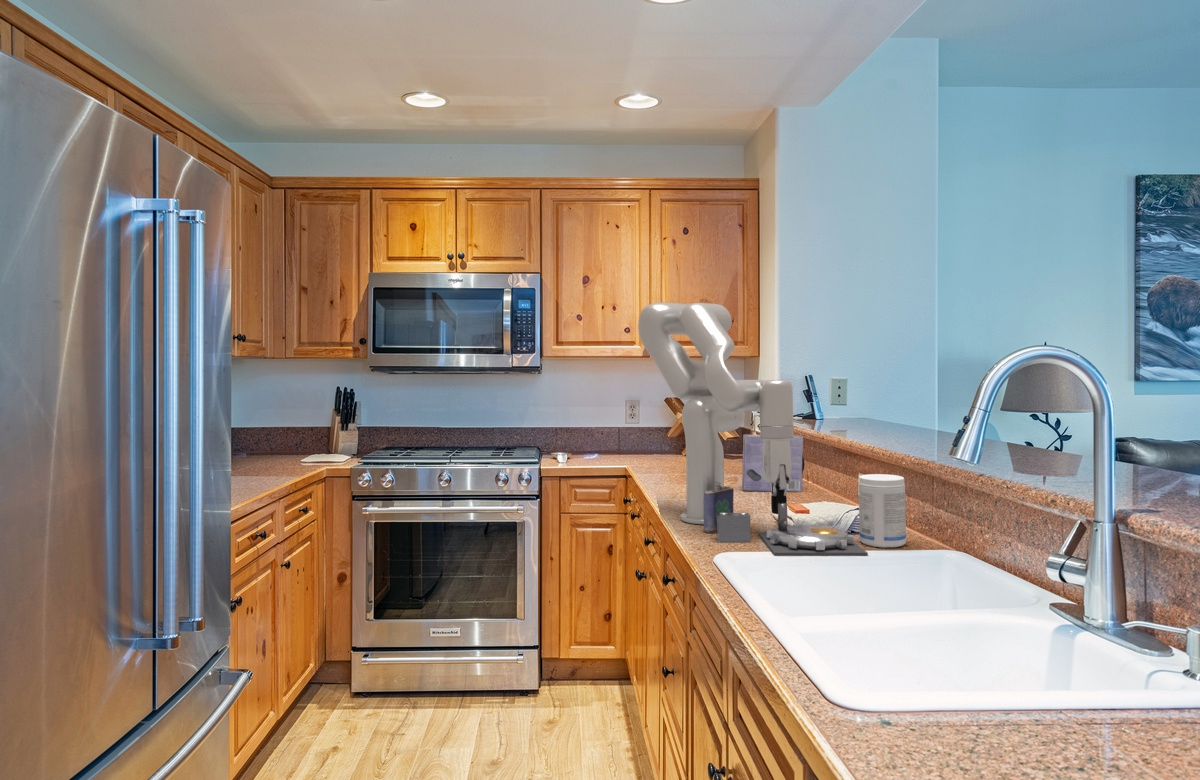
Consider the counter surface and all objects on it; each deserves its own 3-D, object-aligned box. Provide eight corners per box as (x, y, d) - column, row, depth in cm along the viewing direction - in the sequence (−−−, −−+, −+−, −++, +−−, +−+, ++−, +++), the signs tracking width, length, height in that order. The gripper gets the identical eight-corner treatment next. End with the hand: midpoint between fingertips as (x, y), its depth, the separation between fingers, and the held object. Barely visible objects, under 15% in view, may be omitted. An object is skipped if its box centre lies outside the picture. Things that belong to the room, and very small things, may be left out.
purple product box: (803, 489, 232) (803, 433, 231) (806, 492, 227) (806, 435, 226) (741, 489, 234) (741, 433, 233) (743, 491, 229) (743, 435, 228)
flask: (710, 533, 172) (710, 484, 171) (699, 531, 174) (699, 483, 174) (736, 527, 178) (736, 480, 178) (725, 525, 181) (725, 479, 180)
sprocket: (760, 530, 170) (760, 498, 170) (838, 530, 169) (838, 498, 169) (776, 549, 152) (776, 514, 152) (864, 549, 151) (864, 514, 151)
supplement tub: (906, 540, 163) (906, 474, 163) (905, 550, 155) (905, 481, 154) (860, 536, 167) (860, 472, 167) (857, 546, 158) (857, 478, 158)
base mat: (758, 534, 170) (758, 531, 170) (840, 534, 170) (840, 531, 170) (774, 555, 151) (774, 551, 151) (867, 555, 151) (867, 551, 151)
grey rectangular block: (716, 538, 167) (716, 511, 167) (747, 538, 167) (747, 511, 167) (718, 542, 164) (718, 514, 163) (750, 542, 163) (750, 514, 163)
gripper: (754, 431, 176) (757, 507, 177) (766, 436, 161) (769, 519, 162) (786, 430, 176) (788, 507, 176) (801, 435, 161) (803, 518, 161)
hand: (779, 512), depth 169 cm, fingers closed
